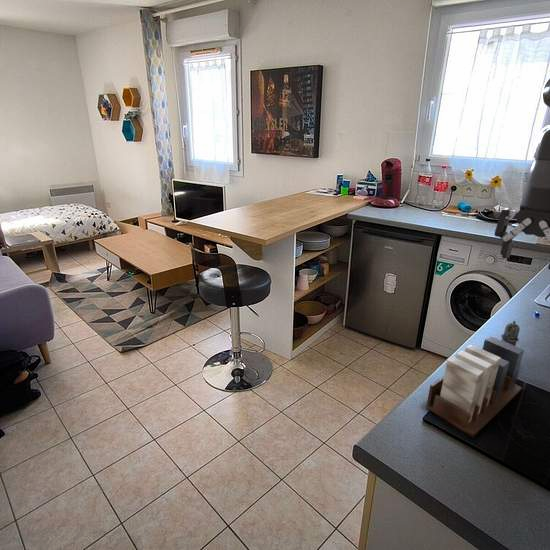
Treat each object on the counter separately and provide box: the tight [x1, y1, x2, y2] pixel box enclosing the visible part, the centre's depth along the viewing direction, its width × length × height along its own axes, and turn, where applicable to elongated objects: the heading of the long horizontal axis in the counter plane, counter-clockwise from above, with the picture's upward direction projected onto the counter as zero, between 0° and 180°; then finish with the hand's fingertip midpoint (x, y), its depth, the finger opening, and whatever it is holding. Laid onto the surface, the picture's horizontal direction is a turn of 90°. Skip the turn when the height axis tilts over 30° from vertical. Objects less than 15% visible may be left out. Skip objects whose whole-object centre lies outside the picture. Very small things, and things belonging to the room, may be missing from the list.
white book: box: [455, 349, 492, 414], centre depth 73 cm, size 6×2×12 cm, turn 37°
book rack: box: [425, 335, 525, 438], centre depth 76 cm, size 10×22×13 cm, turn 127°
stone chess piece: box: [500, 320, 521, 347], centre depth 88 cm, size 6×6×12 cm
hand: (527, 263), depth 76 cm, fingers open, 8 cm apart
